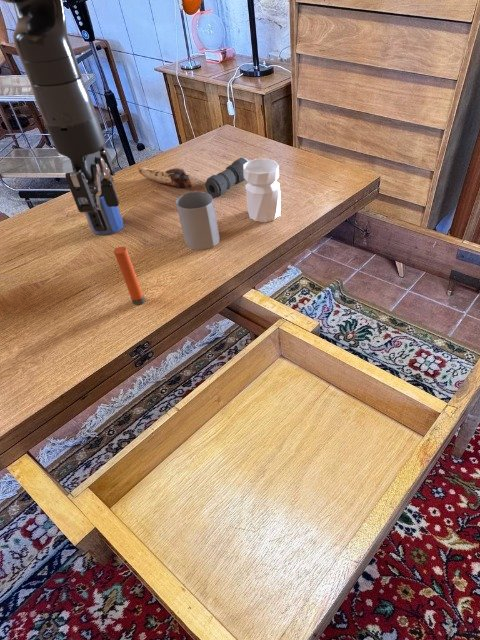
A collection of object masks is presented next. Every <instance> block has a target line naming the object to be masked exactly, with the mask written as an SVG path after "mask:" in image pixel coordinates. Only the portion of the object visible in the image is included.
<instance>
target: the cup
mask: <svg viewBox="0 0 480 640" xmlns="http://www.w3.org/2000/svg"><path fill="white" fill-rule="evenodd" d="M175 206H176V210H177V214H178V219H179V223H180V227H181V231H182V235H183V239H184V243H185V245H186V247H188V248H190V249H191V250H197V251H202V250H203V251H204V250H205V251H206V250H209V249H212V248H215V247H216V246H217V245H218V244H219V243H220V240H221V237H220V230H219V225H218V219H217V215H216V214H217V213H216V208H215V203H214V197H212V196H211V195H210V194H208V192H207V191H206V192H205V191H189V192H186V193H183V194H181V195H180V196H178V197H177V198H176V200H175Z"/></svg>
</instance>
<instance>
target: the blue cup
mask: <svg viewBox="0 0 480 640" xmlns="http://www.w3.org/2000/svg"><path fill="white" fill-rule="evenodd" d="M101 185H102V184H101ZM93 188H94V187H89V189H93ZM101 192H102V191H101ZM92 197H93V195H92ZM80 199H81V201H82V198H80ZM99 199H100V206H101V209H102V211H103V214H104V217H105V219H106V222H107V224H108V229H107V231H96V230H95V229H94V227H93V224H92V222H91V219H90V217H89V214H88V212H83V214H84V215H85V218H86V220H87V223H88V225H89V227H90V230H91V232H92V233H93V234H95V235H98V236H110V235H113V234H116V233H118V232H120V231H121V230H123V228H124V226H125V223H124V220H123V217H122V214H121V211H120V208H119V205H118V206H117V207H109V206H107V204H106V202H105V199H104V196H103V194H102V193H101V195H100V196H99ZM93 200H94V198H93Z"/></svg>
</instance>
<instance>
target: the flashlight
mask: <svg viewBox="0 0 480 640" xmlns="http://www.w3.org/2000/svg"><path fill="white" fill-rule="evenodd" d="M248 161H249V160H248V159H247V158H246V157H244V156H242V157H239V158H237V159H236V160H234V161H233V162H232V163H231V164H229V165H227V166H226V168H225V170H222V171H221V172H219V173H217V174H212V175H210V176H209V177H208V178H207V179H206V181H205V183H204V187H205V191H206V193H208V194H210V195H211V196H212V198H219V197H220V196H222V195H223V194H225V193H226V191H227V190H229V189H230V188H231V187H233V185H238V184H239V183H241V182H244V181H246V180H245V179H244V173H243V165H244V164H245V163H246V162H248Z"/></svg>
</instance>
